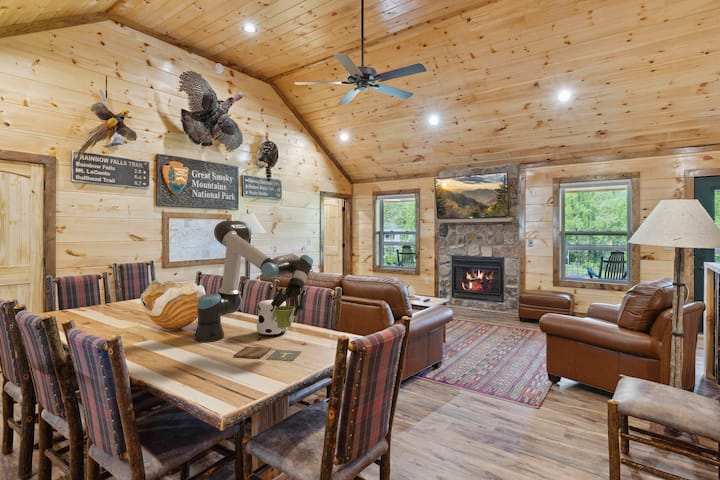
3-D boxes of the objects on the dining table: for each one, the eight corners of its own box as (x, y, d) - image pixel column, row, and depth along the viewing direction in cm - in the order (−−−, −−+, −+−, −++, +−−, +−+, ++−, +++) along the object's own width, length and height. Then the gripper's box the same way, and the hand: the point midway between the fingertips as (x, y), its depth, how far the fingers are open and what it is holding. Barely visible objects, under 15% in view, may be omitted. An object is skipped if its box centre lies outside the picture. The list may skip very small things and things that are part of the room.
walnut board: (233, 357, 178) (233, 355, 178) (246, 348, 191) (246, 346, 191) (260, 358, 176) (260, 356, 176) (271, 349, 189) (271, 347, 189)
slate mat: (266, 359, 176) (266, 358, 176) (276, 350, 189) (276, 349, 189) (293, 360, 174) (293, 360, 174) (302, 351, 187) (302, 351, 187)
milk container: (288, 336, 212) (288, 304, 211) (256, 338, 208) (256, 306, 207) (286, 328, 229) (286, 298, 228) (256, 330, 224) (256, 299, 224)
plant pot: (290, 329, 175) (290, 310, 175) (270, 328, 177) (271, 309, 177) (297, 324, 184) (297, 306, 184) (279, 323, 186) (279, 305, 186)
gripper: (319, 287, 191) (304, 326, 177) (281, 284, 198) (263, 322, 184) (315, 278, 186) (299, 318, 172) (275, 275, 193) (257, 313, 179)
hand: (281, 320), depth 178 cm, fingers closed on plant pot, 9 cm apart
